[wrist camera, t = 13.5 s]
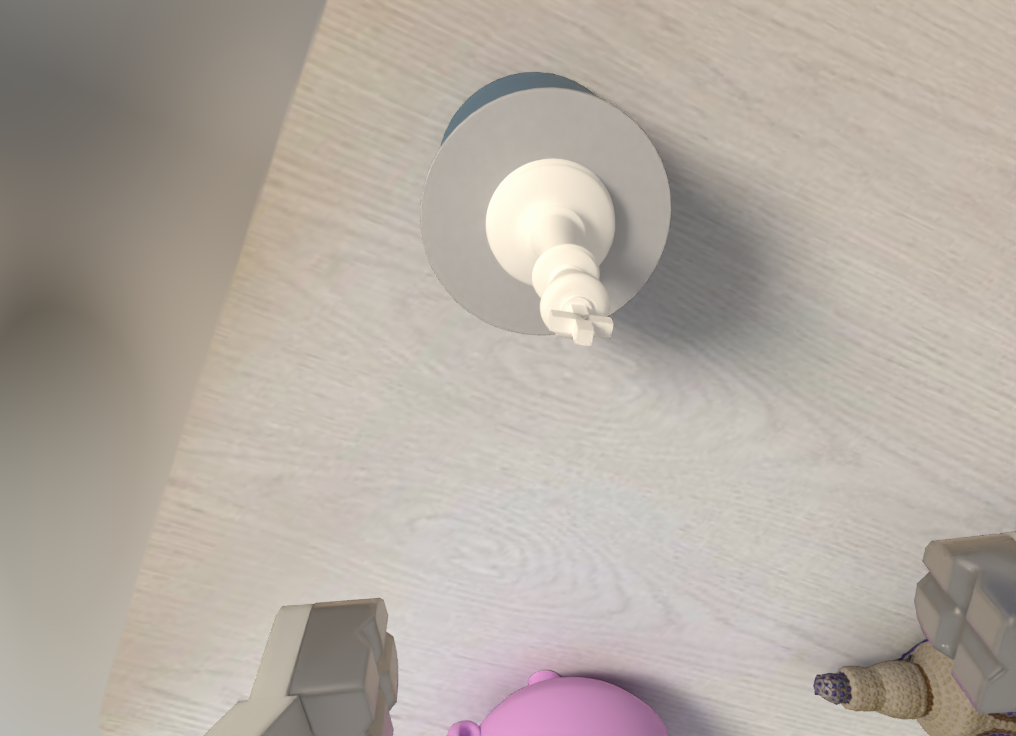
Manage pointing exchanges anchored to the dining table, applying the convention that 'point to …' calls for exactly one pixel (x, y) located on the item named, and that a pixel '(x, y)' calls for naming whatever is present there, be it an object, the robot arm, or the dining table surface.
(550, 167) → the chess piece
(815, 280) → the dining table surface
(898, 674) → the decorative bottle
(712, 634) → the dining table surface
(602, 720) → the teapot
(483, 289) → the yogurt tub
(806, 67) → the dining table surface
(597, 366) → the dining table surface
